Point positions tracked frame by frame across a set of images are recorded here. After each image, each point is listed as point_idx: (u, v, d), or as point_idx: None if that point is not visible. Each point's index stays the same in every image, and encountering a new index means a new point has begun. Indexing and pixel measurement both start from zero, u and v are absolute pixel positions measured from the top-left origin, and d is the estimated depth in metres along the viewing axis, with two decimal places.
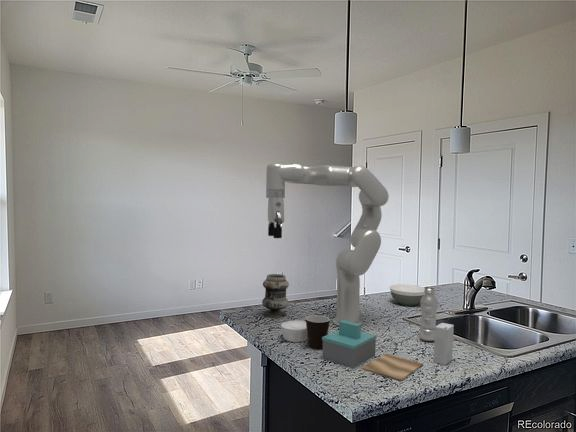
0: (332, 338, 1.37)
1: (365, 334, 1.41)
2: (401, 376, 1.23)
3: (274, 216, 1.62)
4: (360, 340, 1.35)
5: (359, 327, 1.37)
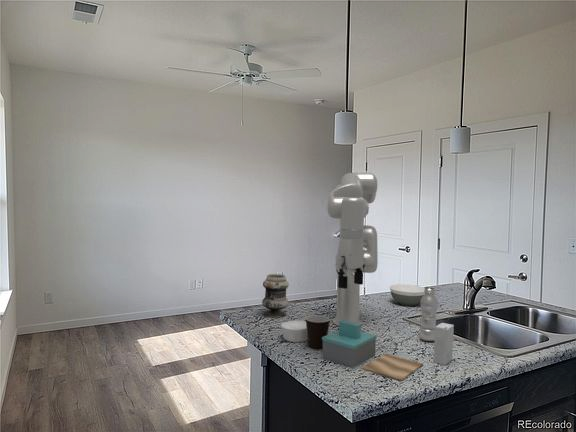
0: (332, 338, 1.37)
1: (365, 334, 1.41)
2: (401, 376, 1.23)
3: None
4: (360, 340, 1.35)
5: (359, 327, 1.37)
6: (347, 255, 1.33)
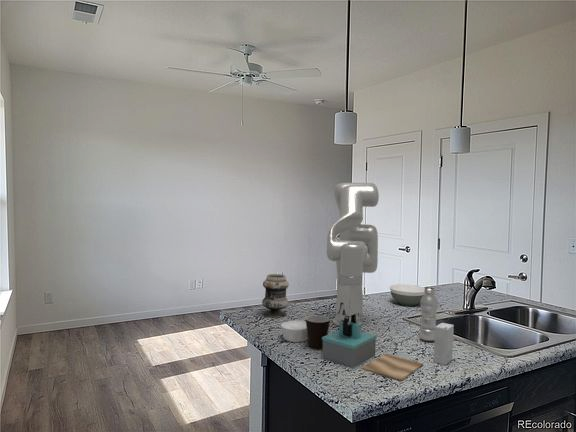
0: (332, 338, 1.37)
1: (365, 334, 1.41)
2: (401, 376, 1.23)
3: None
4: (360, 340, 1.35)
5: (359, 327, 1.37)
6: (346, 302, 1.34)
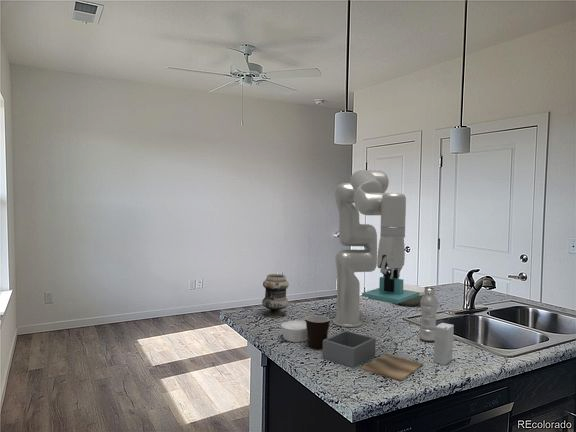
0: (373, 294, 1.28)
1: (407, 291, 1.33)
2: (401, 376, 1.23)
3: None
4: (403, 295, 1.27)
5: (402, 282, 1.29)
6: (389, 254, 1.26)
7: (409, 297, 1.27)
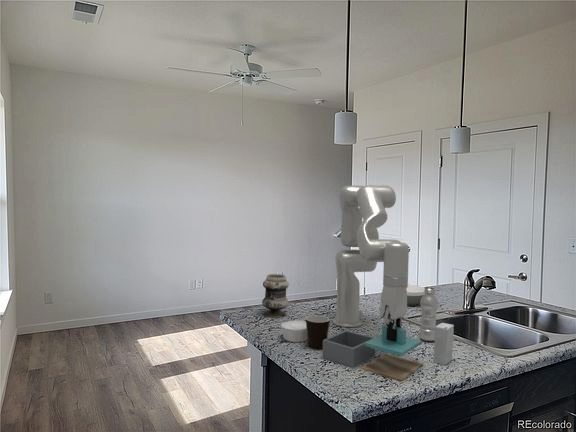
0: (376, 344, 1.28)
1: (409, 339, 1.33)
2: (401, 376, 1.23)
3: None
4: (406, 346, 1.27)
5: (404, 332, 1.29)
6: (392, 305, 1.26)
7: (412, 348, 1.27)
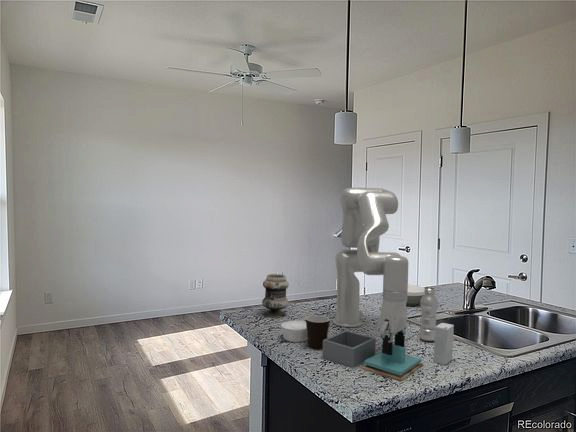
0: (375, 362, 1.29)
1: (409, 357, 1.33)
2: (401, 376, 1.23)
3: None
4: (405, 365, 1.27)
5: (404, 350, 1.29)
6: (391, 319, 1.26)
7: (411, 366, 1.27)
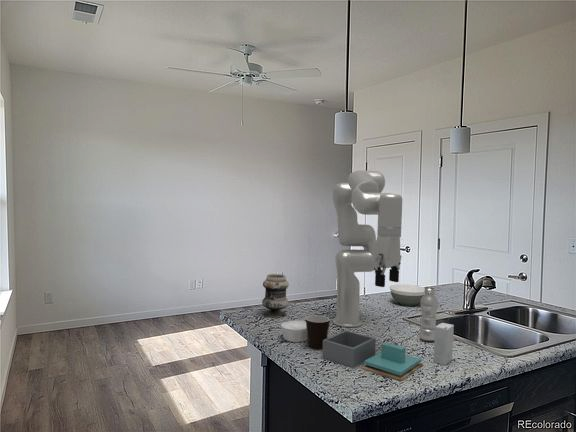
0: (375, 362, 1.29)
1: (409, 357, 1.33)
2: (401, 376, 1.23)
3: None
4: (405, 365, 1.27)
5: (404, 350, 1.29)
6: (385, 253, 1.31)
7: (411, 366, 1.27)
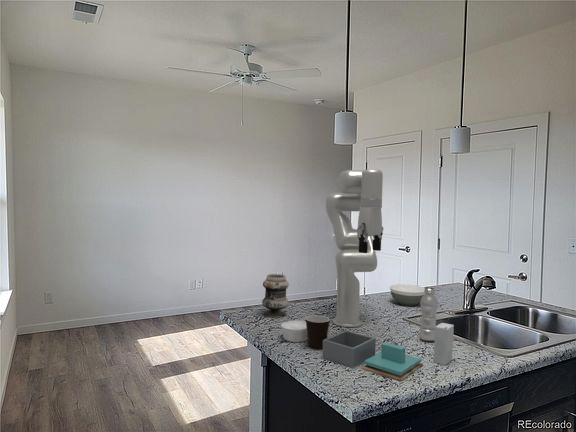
0: (375, 362, 1.29)
1: (409, 357, 1.33)
2: (401, 376, 1.23)
3: None
4: (405, 365, 1.27)
5: (404, 350, 1.29)
6: (367, 222, 1.44)
7: (411, 366, 1.27)
